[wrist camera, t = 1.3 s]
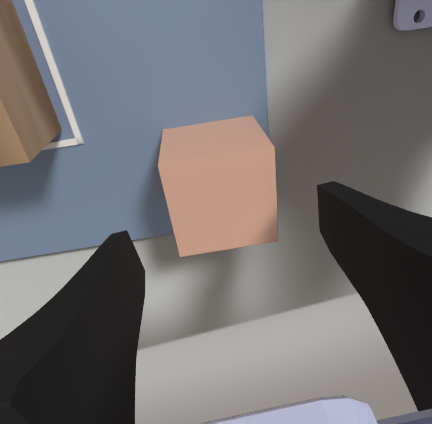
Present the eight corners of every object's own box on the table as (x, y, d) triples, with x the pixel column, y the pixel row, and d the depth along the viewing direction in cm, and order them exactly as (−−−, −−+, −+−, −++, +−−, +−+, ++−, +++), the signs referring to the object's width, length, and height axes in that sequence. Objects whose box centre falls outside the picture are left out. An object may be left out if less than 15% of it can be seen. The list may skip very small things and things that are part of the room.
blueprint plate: (255, -92, 13) (258, -96, 12) (270, 213, 20) (272, 218, 20) (-213, -21, 12) (-229, -23, 12) (-24, 260, 20) (-30, 267, 19)
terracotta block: (252, 115, 16) (274, 147, 13) (258, 194, 19) (278, 241, 15) (162, 129, 16) (157, 165, 12) (179, 206, 19) (179, 257, 15)
